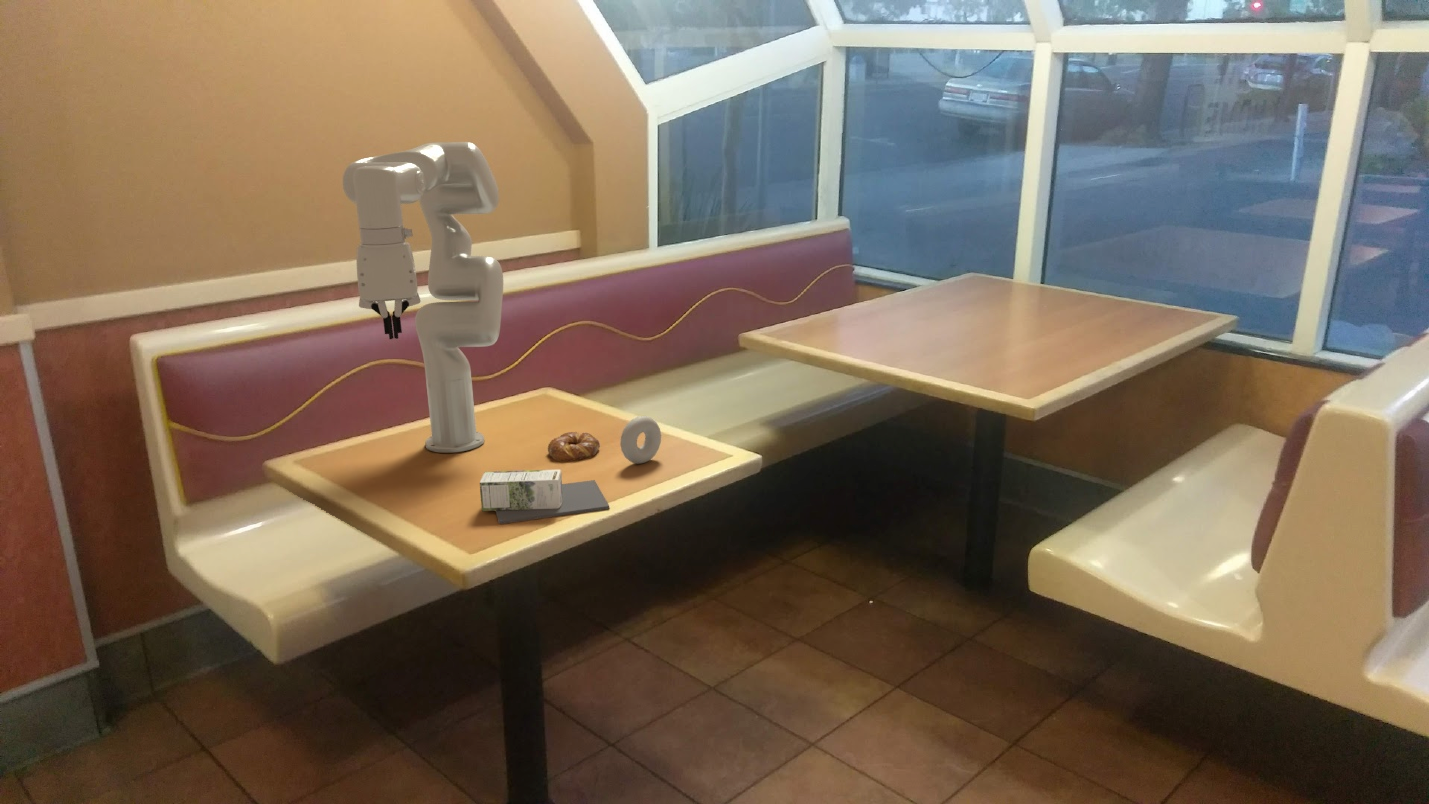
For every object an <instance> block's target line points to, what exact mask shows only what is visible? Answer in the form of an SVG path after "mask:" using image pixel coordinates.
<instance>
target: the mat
mask: <svg viewBox="0 0 1429 804" xmlns="http://www.w3.org/2000/svg"><path fill="white" fill-rule="evenodd" d="M562 491H563V502H562V504H561V506H560V508H559V509H530V510H496V511H495V513H496V518H497V521H498V523H499V525H502V524H503V525H504V524H509V523H517V522H524V521H525V522H526V521H530V520H531V521H532V520H537V519H538V520H539V519H540V520H541V519H546V518H554V517H560V516H569V515H577V514H582V513H589V512H596V511H597V512H598V511H605V510H610V504H609V503H608V501H607V500H606V497H605V496H604V494H603V493H602V491H601V488H600V487H599V485H598V484H597V481H596V480H595V479H593V480H592V479H591V480H584V481H577V482H569V483H562Z"/></svg>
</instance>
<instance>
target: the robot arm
mask: <svg viewBox="0 0 1429 804" xmlns="http://www.w3.org/2000/svg"><path fill="white" fill-rule="evenodd" d="M342 188H343V191H344V195H345V196H346V197H347V199H348V200H349V201H351V202H352V203H353V204H356V205H355V206H356V212H357V222H358V228H359V229H358V230H359V238H360V239H359V240H360V244H359V245H358V244H357V246H356V258H355V259H356V275H357V287H358V294H359V301H358V307H359V308H361V309H367V310H373V312H375V313H376V314H378V315H379V316H380V317H381V318H382V322H383V328H384V330H383V331H384V335H388V336H389V340H393V339H395V340H397V339H399V334H402V333H403V332H402V331H403V330H402V329H403V328H402V323H401V322H402V321H401V316H402V314H403V313H405V311H406V310H407V309H408V308H409V307H412V306H415V305H419V304H420V303H421V297H420V295H419V292H418V279H417V271H416V265H415V260H414V259H415V258H414V255H413V251H412V247H411V244H410V242H407V241H406V240H407V238H409V237H413V235H414V234H413V229H412V228H409V229H408V228H406V226H405V227H404V222H403V221H404V220H403V213H402V212H403V211H402V205H408V204H409V205H410V204H414V203H416V202H419V204H420V205H419V206H420V208H421V211H422V213H423V214H422V215H423V217H424V219H425V221H426V224H427V227H428V229H429V232H430V238H431V245H430V246H431V247H430V257H429V264H428V265H429V266H428V278H427V288H428V291H429V294H430V295H431V296H432V297H433V298H435V299H438V300H442V301H438V302H437V301H436V302H430V303H427V304H425V305H423V306H420V308H419V309H418V310H417V312H416V314H415V318H414V323H415V330H416V334H417V337H418V341H419V344H420V348H421V352H422V358H423V364H424V373H425V382H426V385H425V386H426V392H427V402H428V411H429V422H430V431H431V436H429V437H428V438H427V439H426V440H425V442H424V443H425V448H426V449H427V450H429V451H431V452H434V453H443V454H445V453H446V454H448V453H451V454H452V453H461V452H465V451H466V452H467V451H470V450H473V449H476V448H479V447H480V446H482V444H483V445H484V442H485V436H484V434H482V433H481V432H479V431H477V426H476V424H477V423H476V413H475V403H474V392H473V382H472V370H471V365H470V361H469V359H468V358H467V356H466V355H465V354H464V353H463V351H462V350H461V349H460V348H467V347H468V348H475V347H477V348H480V347H481V348H482V347H489V346H493V345H495V343H497V341H498V339H499V335H500V331H501V320H502V309H503V298H504V297H503V296H504V273H503V269H502V266H501V264H500V262H499V261H498V260H497V259H496V258H494V257H492V256H487V255H472V245H473V240H472V237H471V235H470V233H469V232H468V231H467V230H468V229H466V228H465V226H463V224H462V223H461V222H460V221H458V220H457V218H455V216H454V215H486V214H490V213H493V212H494V211H495V210H497V209H496V208H497V207H498V205H499V201H500V191H499V187H498V184H497V181H496V178H495V176H494V174H493V172H492V169H491V168H490V165H489V162H488V161H487V159H486V157H485V156H484V154H483V152H482V151H481V149H480V148H479V147H478V146H477V145H475V144H474V143H473V142H469V141H459V142H458V141H454V142H453V141H450V142H441V141H440V142H428V143H423V144H421V145H419V146H416V147H414V148H410V149H408V150H402V151H396V152H390V153H387V154H381V155H375V156H370V157H365V158H360V159H358V160H355V161H353V162H350V164H348V165H347V167H346V168H345V170H344V171H343V175H342ZM390 301H391V302H392V301H394V310H393V311H392V315H390V314H391V313H390V312H389V311H388V307H387V304H386V302H390Z"/></svg>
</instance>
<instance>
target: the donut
mask: <svg viewBox="0 0 1429 804" xmlns="http://www.w3.org/2000/svg"><path fill="white" fill-rule="evenodd" d="M642 433H644V442H643V444H642V445H641V446H640V447H639V446H638V438H639V436H640V435H641V434H642ZM661 442H662V432H661V428H660V427H659V425H658V423H657V421H656V420H654V418H652V417H649V416H646V415H643V416H639V415H638V416H636V417H635V418H632V419H631V420H630V421H629V422H627V423H626V425H625V427H624V428H623V430H622V433H621V436H620V444H619V445H620V448H621V449H620V450H621V452H622V455H623V457H624V458H625V459H626V460H628V461H629V462H630V463H633V464H637V465H640V464H645V463H647V462H649V461H651V460H652V459H653V458H654V457H655V456H656V454H657V453H658V451H659V449H660V446H661Z"/></svg>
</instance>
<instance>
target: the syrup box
mask: <svg viewBox="0 0 1429 804" xmlns="http://www.w3.org/2000/svg"><path fill="white" fill-rule="evenodd" d="M562 480H563V479H562V469H538V470H537V469H533V470H532V469H531V470H507V471H506V470H501V471H500V470H499V471H485V472H484V473H483V474H482V477H481V478H480V481H479V492H480V502H481V503H480V505H481V511H482V512H491V511H495V512H496V510H530V509H559V508H560V506H561V504H562V502H563V491H562V484H563V481H562Z"/></svg>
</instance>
